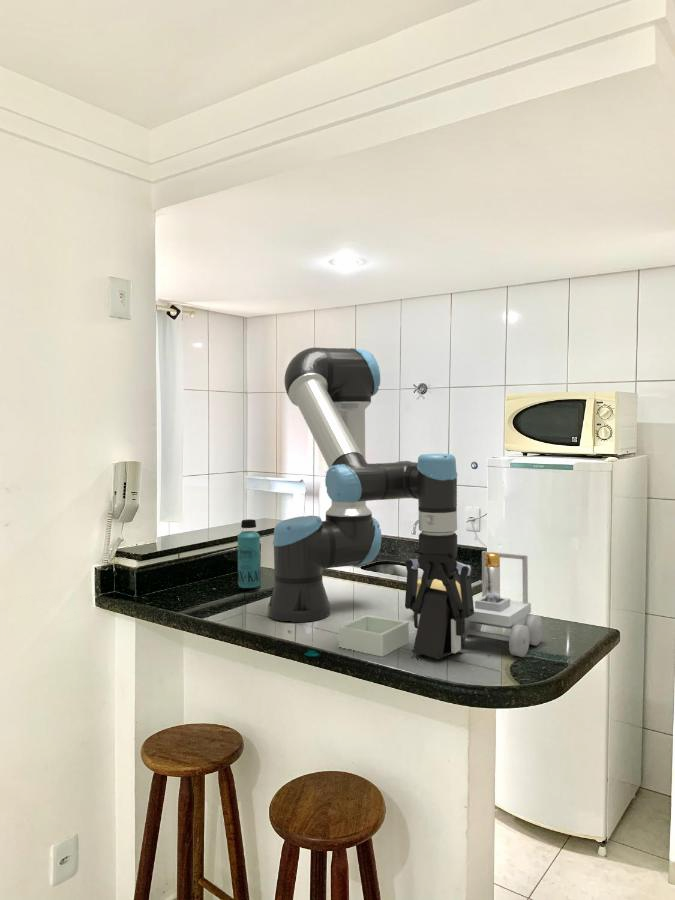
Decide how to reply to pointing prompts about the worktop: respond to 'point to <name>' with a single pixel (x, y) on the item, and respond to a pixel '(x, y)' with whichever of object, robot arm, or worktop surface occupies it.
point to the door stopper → (435, 625)
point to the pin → (492, 577)
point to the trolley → (506, 615)
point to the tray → (374, 635)
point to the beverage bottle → (248, 556)
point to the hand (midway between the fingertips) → (439, 647)
